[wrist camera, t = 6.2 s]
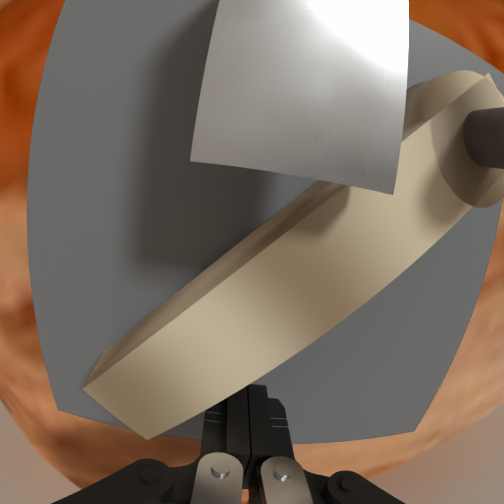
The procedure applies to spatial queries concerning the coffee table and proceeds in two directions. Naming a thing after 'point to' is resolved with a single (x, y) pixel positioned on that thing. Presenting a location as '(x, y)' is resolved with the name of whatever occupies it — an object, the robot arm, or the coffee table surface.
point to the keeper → (306, 89)
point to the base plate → (212, 225)
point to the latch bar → (308, 264)
